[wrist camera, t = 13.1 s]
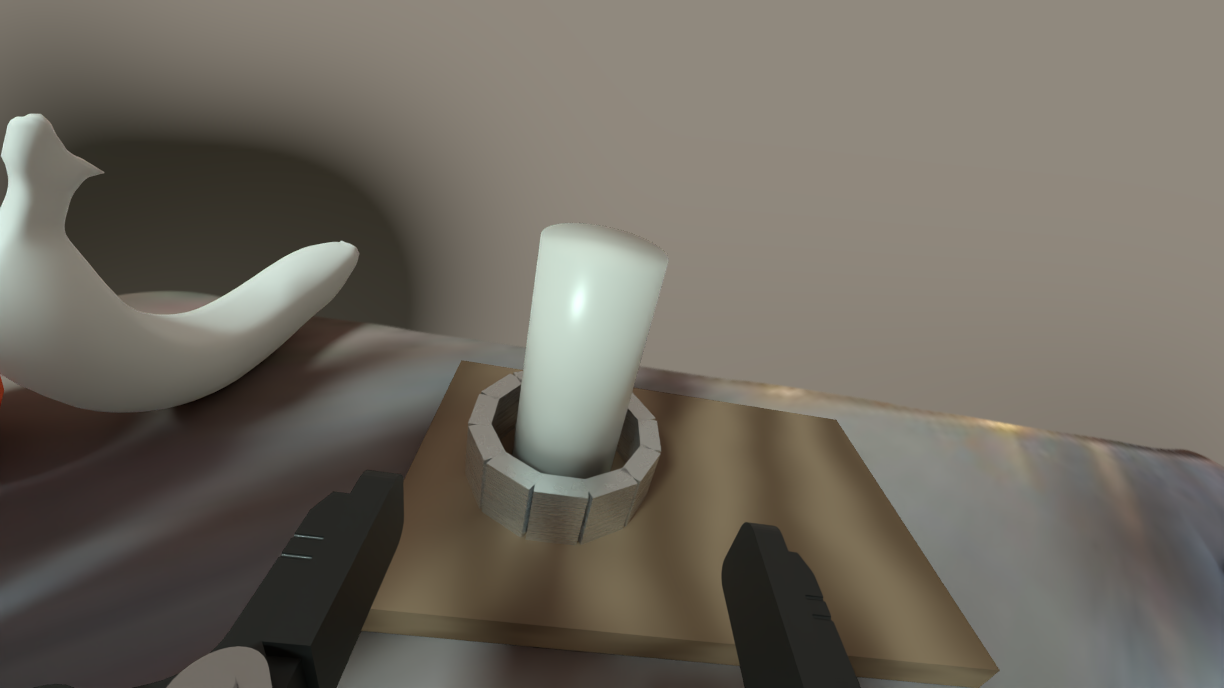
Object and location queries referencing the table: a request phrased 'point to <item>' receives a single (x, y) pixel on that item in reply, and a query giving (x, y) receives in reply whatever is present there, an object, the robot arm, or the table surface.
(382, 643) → the table surface
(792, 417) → the board
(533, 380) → the white rounded cylinder
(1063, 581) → the table surface
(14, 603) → the table surface
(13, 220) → the white bird figurine
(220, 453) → the table surface
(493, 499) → the collar
